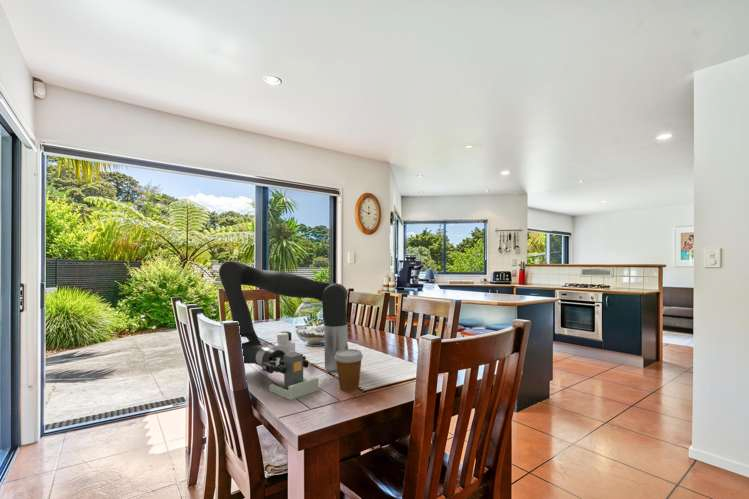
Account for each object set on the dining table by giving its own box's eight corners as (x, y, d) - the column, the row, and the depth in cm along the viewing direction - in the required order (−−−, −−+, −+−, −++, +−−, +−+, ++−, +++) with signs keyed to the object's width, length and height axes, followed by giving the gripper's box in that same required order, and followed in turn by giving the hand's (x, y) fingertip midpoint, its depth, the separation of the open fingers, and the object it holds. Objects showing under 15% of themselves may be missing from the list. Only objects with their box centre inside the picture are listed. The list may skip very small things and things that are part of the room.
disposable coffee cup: (357, 394, 119) (357, 357, 119) (330, 392, 122) (329, 355, 122) (367, 384, 128) (366, 349, 128) (341, 382, 131) (340, 348, 131)
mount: (269, 390, 124) (269, 378, 124) (297, 381, 132) (297, 370, 132) (290, 400, 116) (290, 387, 116) (318, 389, 124) (318, 377, 124)
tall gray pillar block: (284, 390, 124) (283, 354, 124) (295, 387, 127) (294, 351, 127) (292, 394, 121) (291, 357, 121) (303, 390, 124) (303, 354, 124)
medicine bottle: (280, 357, 164) (279, 330, 164) (295, 357, 163) (295, 330, 163) (273, 362, 156) (272, 333, 157) (289, 362, 156) (289, 334, 156)
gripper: (252, 352, 129) (277, 361, 117) (287, 344, 139) (314, 351, 128) (252, 374, 129) (278, 384, 117) (287, 364, 139) (314, 373, 128)
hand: (296, 367), depth 123 cm, fingers open, 8 cm apart
